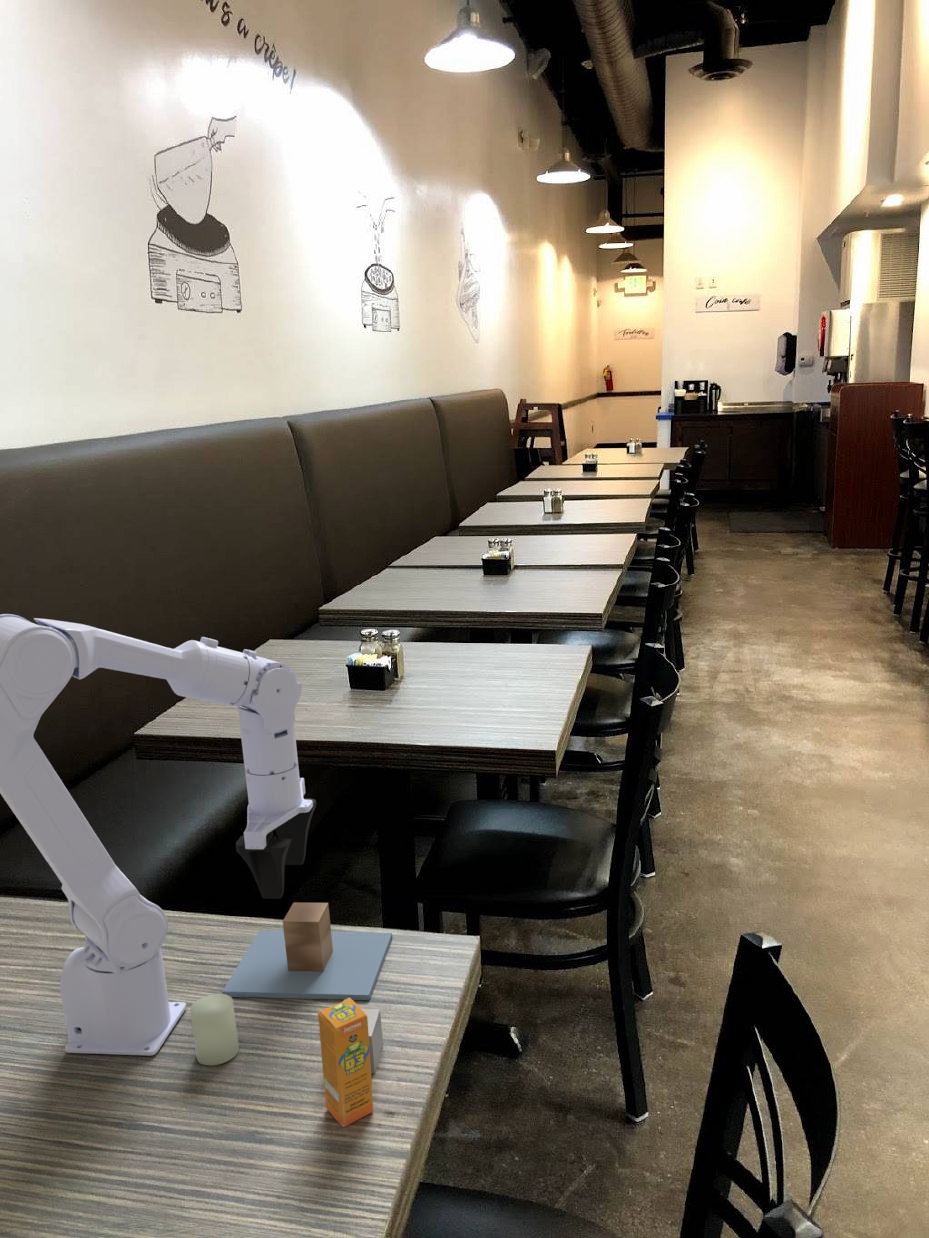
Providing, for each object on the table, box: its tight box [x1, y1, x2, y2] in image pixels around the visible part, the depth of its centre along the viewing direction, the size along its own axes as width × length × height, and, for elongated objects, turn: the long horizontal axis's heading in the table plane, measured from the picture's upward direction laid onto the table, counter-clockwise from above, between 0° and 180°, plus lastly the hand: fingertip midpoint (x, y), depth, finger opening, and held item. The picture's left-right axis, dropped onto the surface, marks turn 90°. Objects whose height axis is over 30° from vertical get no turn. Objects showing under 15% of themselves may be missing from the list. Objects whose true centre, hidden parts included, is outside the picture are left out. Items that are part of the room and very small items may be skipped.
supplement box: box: [317, 998, 374, 1128], centre depth 84 cm, size 3×3×10 cm
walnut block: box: [282, 902, 333, 972], centre depth 107 cm, size 4×4×6 cm
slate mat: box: [221, 930, 393, 1001], centre depth 108 cm, size 16×12×1 cm
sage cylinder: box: [189, 993, 240, 1066], centre depth 94 cm, size 4×4×5 cm
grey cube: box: [361, 1008, 384, 1074], centre depth 92 cm, size 4×4×4 cm
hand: (284, 879), depth 109 cm, fingers open, 7 cm apart
